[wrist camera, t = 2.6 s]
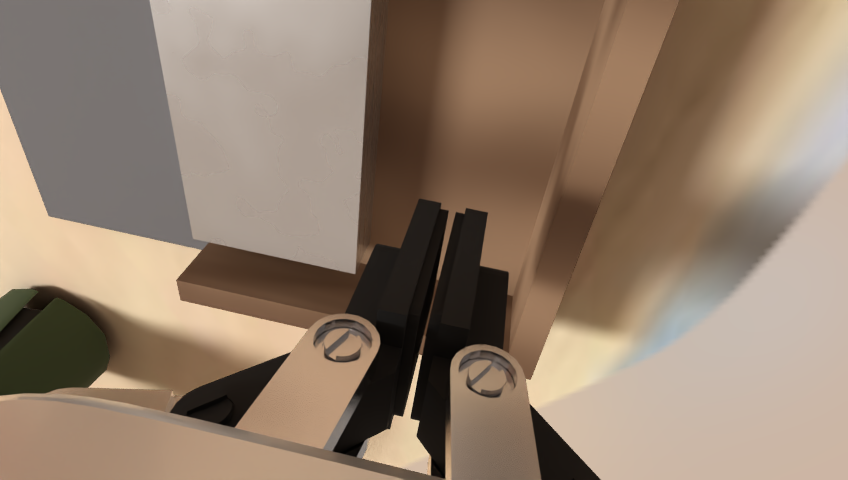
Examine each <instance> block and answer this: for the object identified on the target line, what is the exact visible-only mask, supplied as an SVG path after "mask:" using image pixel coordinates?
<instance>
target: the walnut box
mask: <svg viewBox="0 0 848 480" xmlns="http://www.w3.org/2000/svg"><path fill="white" fill-rule="evenodd" d="M678 3H679V0H389V4H388V17H387V30H386V43H385V56H384V69H383V82H382V95H381V108H380V121H379V134H378V147H377V160H376V173H375V186H374V199H373V212H372V225H371V237H370V242H369V245H368V247H367V249H366V251H365V254H364V256H363V258H362V260H361V263H360V265H359V267H358V269H357V271H356V274H352V273H348V272H343V271H338V270H334V269H329V268H325V267H320V266H316V265H311V264H306V263H302V262H297V261H293V260H288V259H283V258H279V257H274V256H270V255H265V254H261V253H256V252H251V251H247V250H242V249H238V248H233V247H228V246H224V245H219V244H215V243H210V242H209V243H208V244H207V245H206V246H205V247H204V249H203V250H202V251H201V252H200V253H199V254H198V256H197V257H196V258H195V259H194V260H193V261H192V263H191V264H190V265H189V266H188V267H187V268H186V270H185V271H184V272H183V273H182V274H181V275H180V276H179V278H178V279H177V280H176V281H177V285H178V290H179V294H180V299H181V300H182V301H186V302H191V303H195V304H200V305H204V306H208V307H213V308H217V309H222V310H226V311H230V312H235V313H239V314H244V315H248V316H252V317H257V318H261V319H266V320H270V321H274V322H279V323H283V324H288V325H292V326H296V327H301V328H305V329H309V328H310V327H311V326H312V325H313V324H314V323H315V322H316V321H318V320H320V319H322V318H324V317H326V316H329V315H334V314H345V312H346V309H347V307H348V305H349V303H350V300H351V298H352V296H353V294H354V291H355V289H356V287H357V285H358V282H359V280H360V278H361V276H362V274H363V271H364V269H365V267H366V265H367V262H368V260H369V258H370V256H371V253H372V251H373V249H374V247H375V245H376V244H382V245H386V246H391V247H396V248H401V246H402V243H403V240H404V238H405V235H406V232H407V230H408V227H409V224H410V222H411V219H412V216H413V213H414V211H415V208H416V205H417V203H418V200H419V199H425V200H430V201H435V202H440V203H441V209H444V210H449V213H448V219H447V224H446V230H445V235H444V240H443V246H442V251H441V257H440V262H439V267H438V273H437V278H436V283H435V289H434V294H433V299H432V304H431V308H430V312H429V316H428V320H427V324H426V328H425V332H424V335H423V339H422V343H421V347H420V351H419V354H420V355H422V354H423V348H424V343H425V338H426V332H427V327H428V322H429V318H430V313H431V309H432V305H433V301H434V297H435V293H436V289H437V285H438V281H439V277H440V273H441V269H442V265H443V261H444V257H445V253H446V249H447V245H448V241H449V237H450V233H451V229H452V225H453V221H454V217H455V213H456V212H459V213H463V214H465V210H466V208H469V209H474V210H478V211H483V212H488V216H487V222H486V229H485V235H484V242H483V248H482V255H481V261H480V266H484V267H489V268H494V269H498V270H503V271H508V272H509V281H508V294H507V307H506V320H505V333H504V345H503V350H504V351H506V352H507V353H509V354H510V355H511V356H512V357H514V358H515V359H516V360H517V362H518V363H519V364H520V366H521V367H522V369H523V372H524V375H525V378H526V379H530V380H531V377H532V375H533V372H534V370H535V367H536V365H537V362H538V360H539V357H540V355H541V352H542V349H543V347H544V344H545V342H546V339H547V337H548V334H549V332H550V329H551V326H552V324H553V321H554V319H555V316H556V314H557V311H558V309H559V306H560V304H561V301H562V298H563V296H564V293H565V291H566V288H567V286H568V283H569V281H570V278H571V276H572V273H573V270H574V268H575V265H576V263H577V260H578V258H579V255H580V253H581V250H582V247H583V245H584V242H585V240H586V237H587V235H588V232H589V230H590V227H591V225H592V222H593V219H594V217H595V214H596V212H597V209H598V207H599V204H600V202H601V199H602V197H603V194H604V191H605V189H606V186H607V184H608V181H609V179H610V176H611V174H612V171H613V169H614V166H615V163H616V161H617V158H618V156H619V153H620V151H621V148H622V146H623V143H624V140H625V138H626V135H627V133H628V130H629V128H630V125H631V123H632V120H633V118H634V115H635V112H636V110H637V107H638V105H639V102H640V100H641V97H642V95H643V92H644V90H645V87H646V84H647V82H648V79H649V77H650V74H651V72H652V69H653V67H654V64H655V61H656V59H657V56H658V54H659V51H660V49H661V46H662V44H663V41H664V39H665V36H666V33H667V31H668V28H669V26H670V23H671V21H672V18H673V16H674V13H675V11H676V8H677V5H678Z"/></svg>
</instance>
